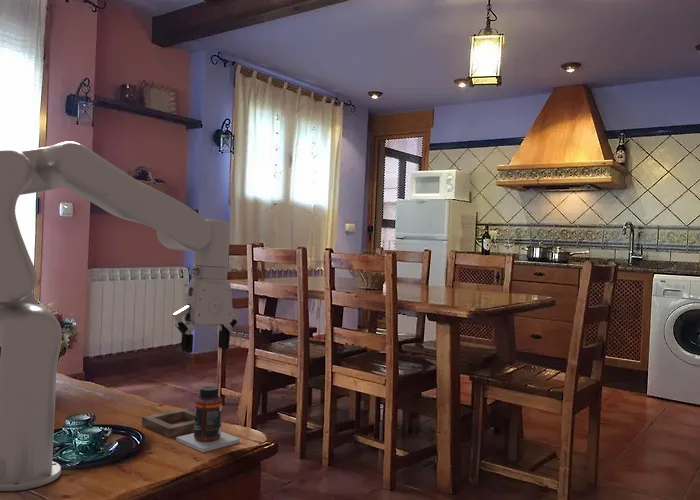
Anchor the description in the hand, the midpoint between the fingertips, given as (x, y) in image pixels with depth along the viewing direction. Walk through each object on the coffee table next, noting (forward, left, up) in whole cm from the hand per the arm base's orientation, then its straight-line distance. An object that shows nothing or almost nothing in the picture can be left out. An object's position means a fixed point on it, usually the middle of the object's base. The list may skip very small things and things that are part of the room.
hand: (205, 350), depth 131 cm
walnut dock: (+2, +13, -21) cm, 25 cm away
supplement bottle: (+1, -1, -20) cm, 20 cm away
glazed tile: (+1, -1, -21) cm, 21 cm away
